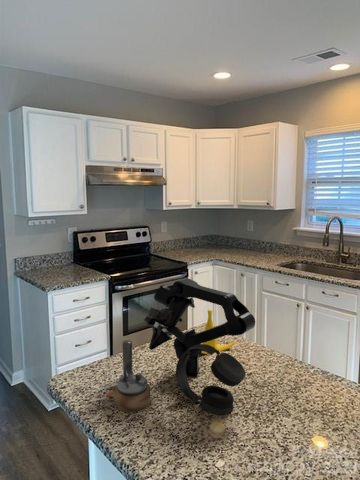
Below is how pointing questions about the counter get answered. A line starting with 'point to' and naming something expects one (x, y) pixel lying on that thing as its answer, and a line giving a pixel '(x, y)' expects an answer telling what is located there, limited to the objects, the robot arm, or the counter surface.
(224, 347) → the banana peel
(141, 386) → the lugged disk with column
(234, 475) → the counter surface
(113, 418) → the counter surface
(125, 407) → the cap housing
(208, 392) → the headphones
